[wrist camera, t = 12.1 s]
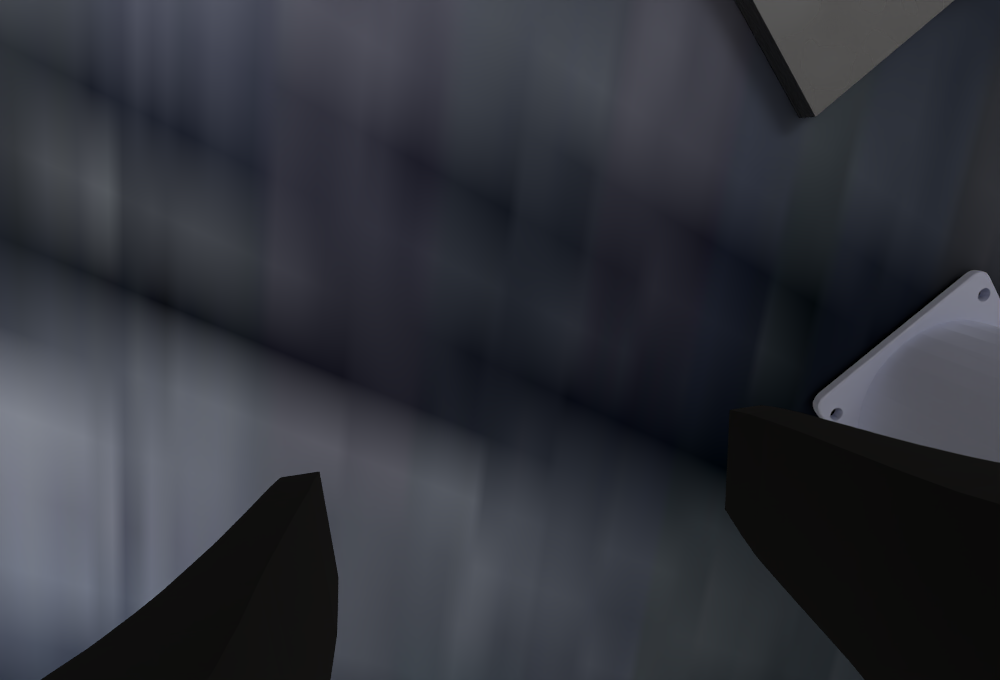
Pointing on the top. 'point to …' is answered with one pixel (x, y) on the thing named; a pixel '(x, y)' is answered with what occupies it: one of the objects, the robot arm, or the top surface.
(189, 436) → the top surface
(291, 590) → the robot arm
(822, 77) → the stud plate
